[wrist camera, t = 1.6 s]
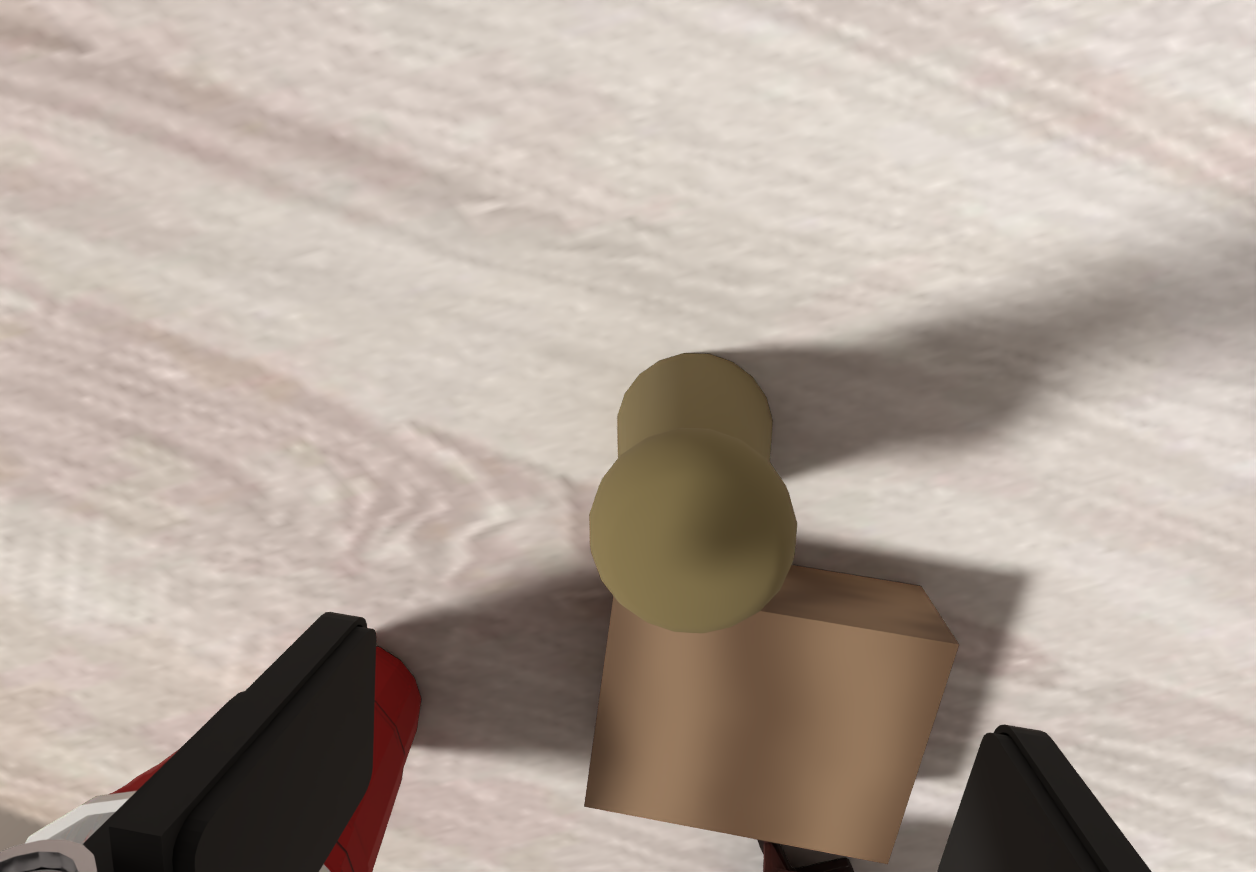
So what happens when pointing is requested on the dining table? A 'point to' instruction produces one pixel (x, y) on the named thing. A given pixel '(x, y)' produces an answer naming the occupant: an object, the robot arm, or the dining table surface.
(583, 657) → the dining table surface
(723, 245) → the dining table surface
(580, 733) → the dining table surface
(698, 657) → the walnut plinth
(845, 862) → the mate gourd
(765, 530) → the olive pawn figure
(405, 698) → the plastic cup
